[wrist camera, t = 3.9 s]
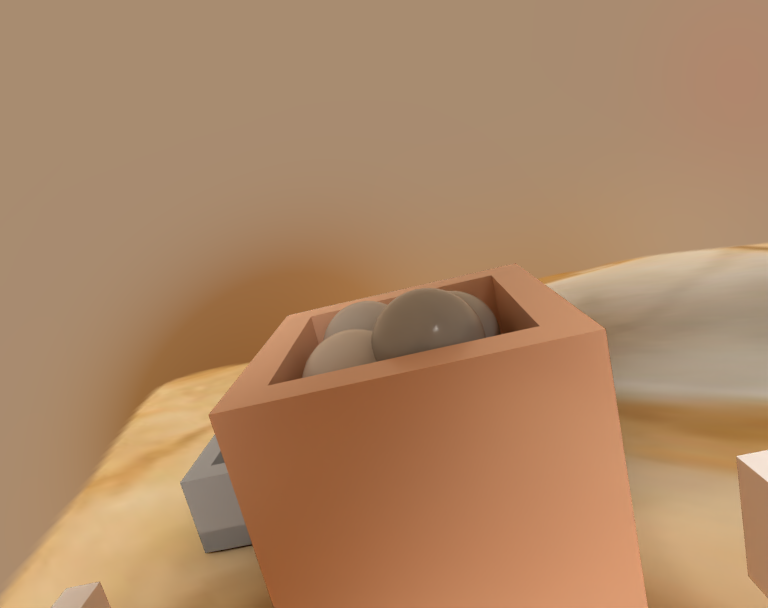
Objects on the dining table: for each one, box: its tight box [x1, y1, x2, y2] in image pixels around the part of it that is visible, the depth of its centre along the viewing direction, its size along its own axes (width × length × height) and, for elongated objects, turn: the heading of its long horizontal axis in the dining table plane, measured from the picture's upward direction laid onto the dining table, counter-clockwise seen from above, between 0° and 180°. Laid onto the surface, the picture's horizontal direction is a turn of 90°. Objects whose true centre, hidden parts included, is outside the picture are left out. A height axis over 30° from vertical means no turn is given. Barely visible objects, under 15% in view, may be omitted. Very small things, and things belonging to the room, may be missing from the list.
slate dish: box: [180, 435, 252, 553], centre depth 31 cm, size 18×18×4 cm
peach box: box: [209, 263, 648, 608], centre depth 15 cm, size 8×8×11 cm
